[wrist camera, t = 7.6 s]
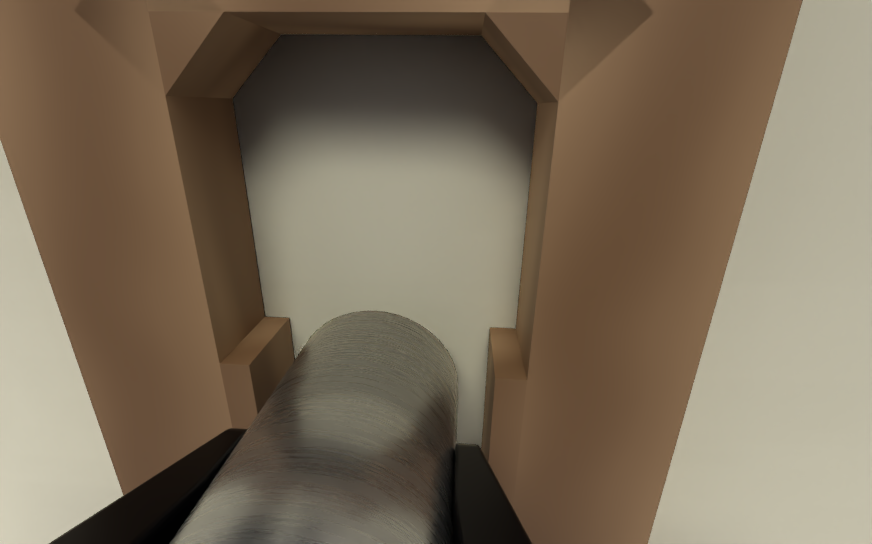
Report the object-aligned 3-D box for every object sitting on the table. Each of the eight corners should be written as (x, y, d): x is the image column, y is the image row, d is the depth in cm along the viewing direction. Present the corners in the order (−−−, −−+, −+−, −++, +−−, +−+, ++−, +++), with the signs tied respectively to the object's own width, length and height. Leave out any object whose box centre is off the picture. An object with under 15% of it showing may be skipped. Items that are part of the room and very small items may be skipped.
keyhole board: (767, -190, 6) (892, -313, 4) (580, 632, 14) (598, 715, 12) (19, -171, 7) (-142, -272, 5) (222, 600, 14) (185, 674, 12)
